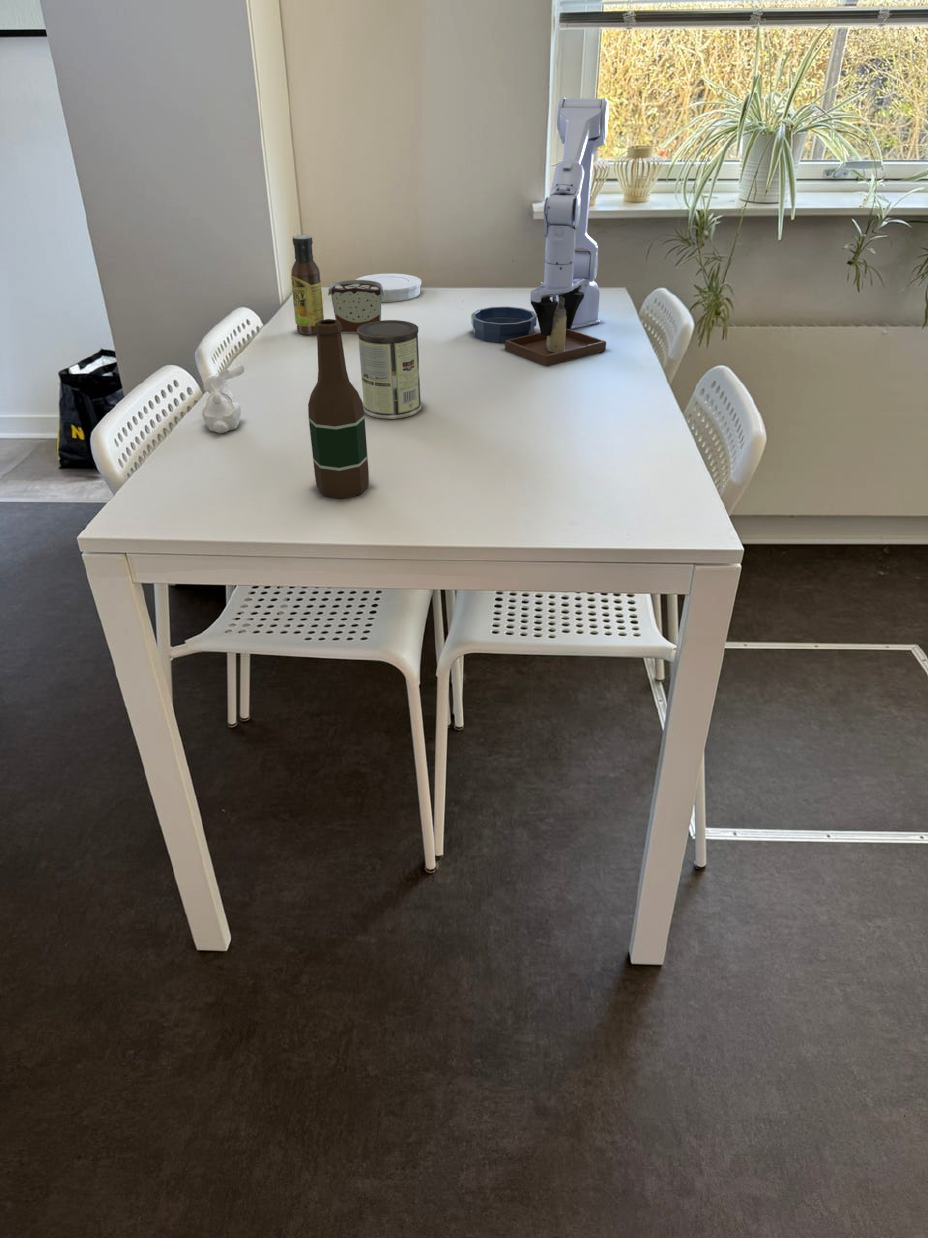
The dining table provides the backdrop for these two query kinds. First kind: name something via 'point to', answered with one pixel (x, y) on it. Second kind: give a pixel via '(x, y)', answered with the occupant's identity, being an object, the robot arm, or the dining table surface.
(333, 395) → the beer bottle
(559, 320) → the beige tall upright piece
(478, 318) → the bowl
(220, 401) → the rabbit figurine
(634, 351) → the dining table surface
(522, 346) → the tray
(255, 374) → the dining table surface
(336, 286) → the food container
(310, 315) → the sauce bottle
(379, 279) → the lid
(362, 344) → the coffee can
